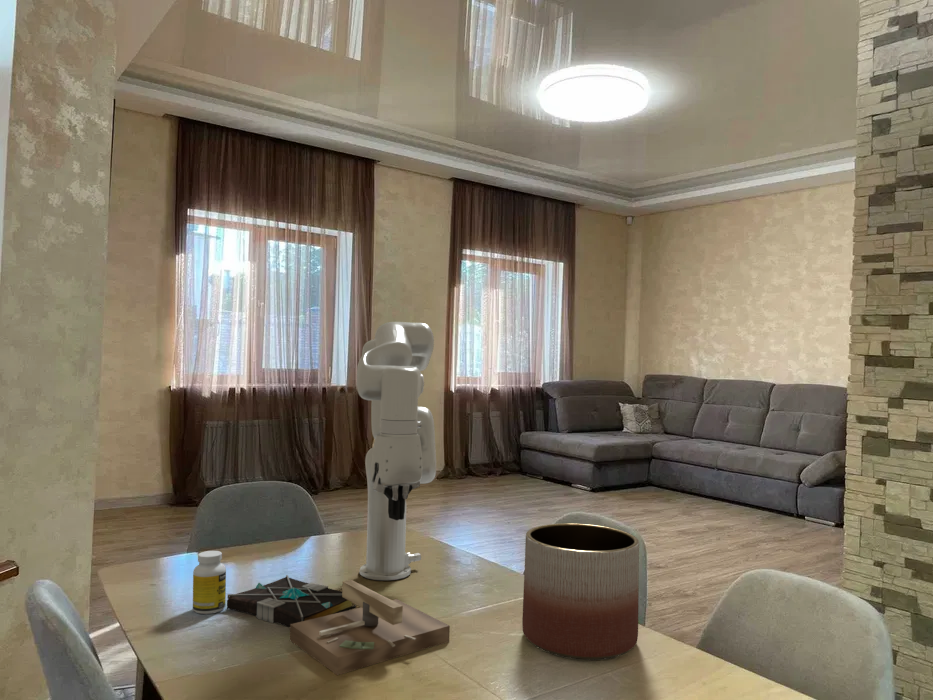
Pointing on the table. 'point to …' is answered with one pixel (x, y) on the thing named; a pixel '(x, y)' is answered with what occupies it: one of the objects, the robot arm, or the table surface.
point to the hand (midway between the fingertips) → (396, 518)
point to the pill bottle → (209, 583)
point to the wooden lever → (368, 607)
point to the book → (289, 601)
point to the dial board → (367, 638)
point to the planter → (581, 590)
